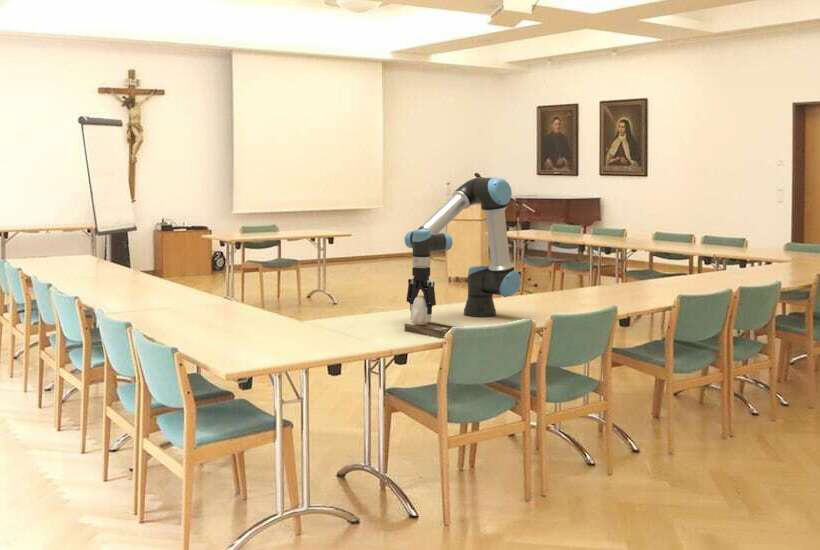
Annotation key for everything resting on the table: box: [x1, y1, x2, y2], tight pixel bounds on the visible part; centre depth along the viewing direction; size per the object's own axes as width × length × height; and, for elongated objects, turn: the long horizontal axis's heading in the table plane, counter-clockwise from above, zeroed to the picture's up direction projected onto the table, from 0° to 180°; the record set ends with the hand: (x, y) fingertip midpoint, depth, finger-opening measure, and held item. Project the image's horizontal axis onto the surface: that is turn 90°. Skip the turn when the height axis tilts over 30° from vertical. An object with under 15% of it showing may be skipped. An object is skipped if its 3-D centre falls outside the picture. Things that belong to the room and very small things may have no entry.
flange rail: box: [404, 321, 456, 339], centre depth 370 cm, size 12×22×4 cm, turn 43°
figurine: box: [411, 295, 427, 325], centre depth 374 cm, size 7×8×12 cm
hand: (420, 320), depth 375 cm, fingers closed on figurine, 8 cm apart
